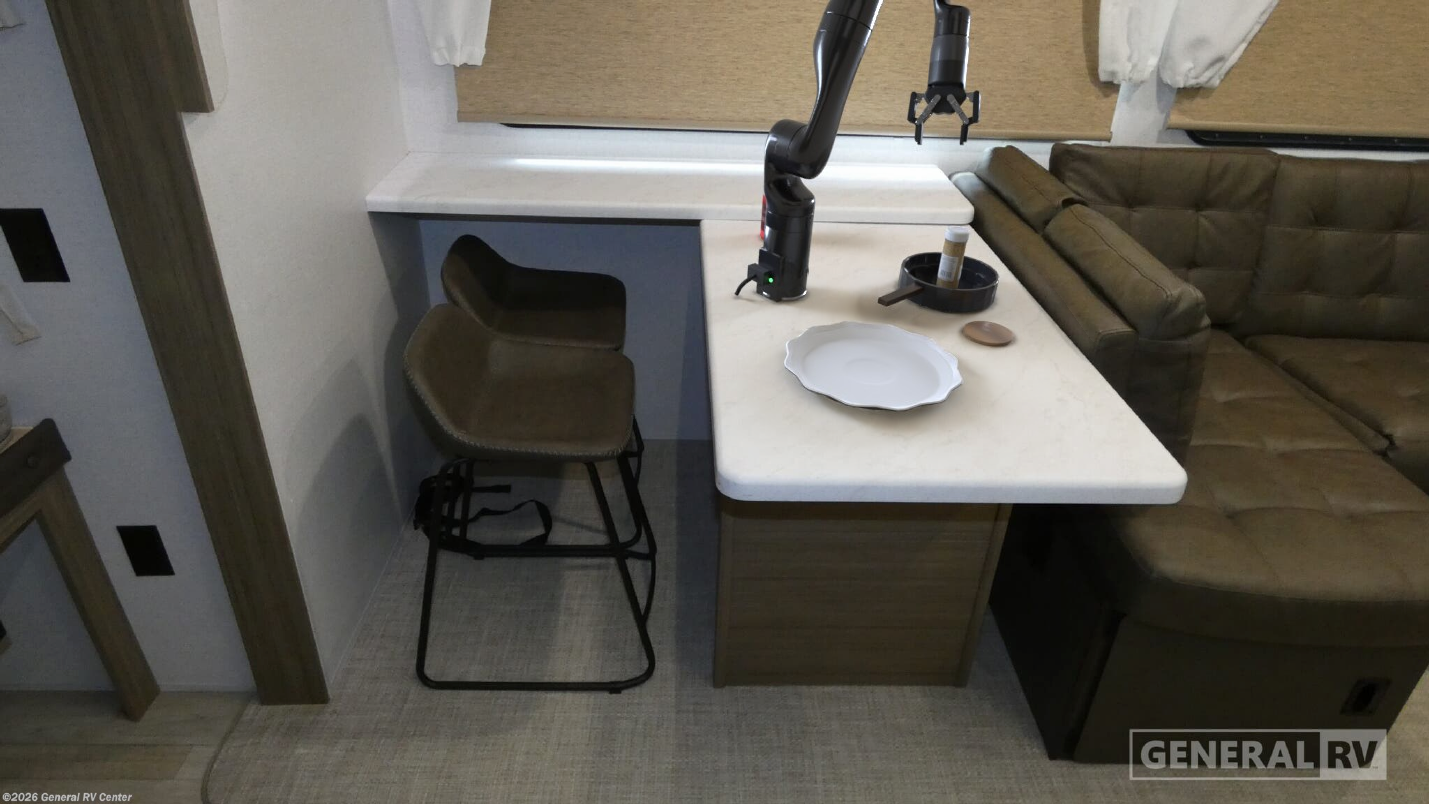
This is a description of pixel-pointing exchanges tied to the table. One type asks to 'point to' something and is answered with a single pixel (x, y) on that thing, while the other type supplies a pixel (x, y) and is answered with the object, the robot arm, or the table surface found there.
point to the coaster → (988, 333)
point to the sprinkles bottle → (952, 257)
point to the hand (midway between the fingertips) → (940, 144)
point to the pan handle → (900, 295)
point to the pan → (968, 297)
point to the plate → (872, 366)
